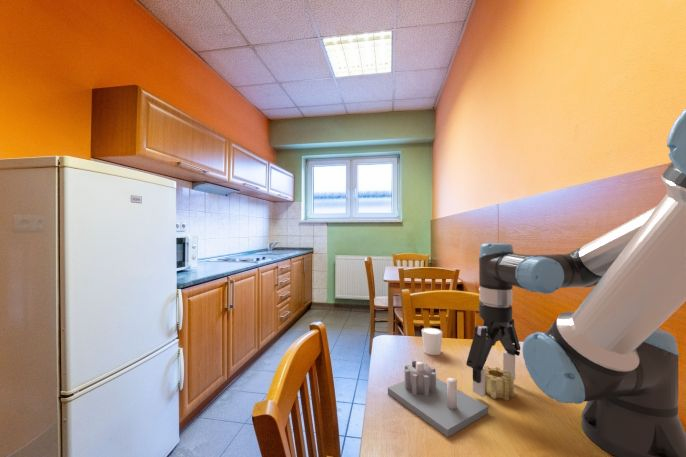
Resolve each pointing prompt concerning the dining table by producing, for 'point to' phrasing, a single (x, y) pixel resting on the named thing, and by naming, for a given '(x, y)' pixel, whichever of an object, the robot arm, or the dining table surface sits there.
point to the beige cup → (432, 340)
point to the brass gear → (498, 383)
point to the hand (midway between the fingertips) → (494, 385)
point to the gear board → (436, 399)
